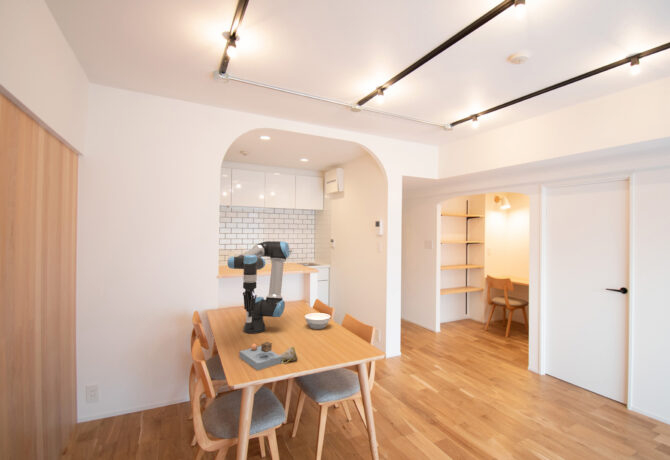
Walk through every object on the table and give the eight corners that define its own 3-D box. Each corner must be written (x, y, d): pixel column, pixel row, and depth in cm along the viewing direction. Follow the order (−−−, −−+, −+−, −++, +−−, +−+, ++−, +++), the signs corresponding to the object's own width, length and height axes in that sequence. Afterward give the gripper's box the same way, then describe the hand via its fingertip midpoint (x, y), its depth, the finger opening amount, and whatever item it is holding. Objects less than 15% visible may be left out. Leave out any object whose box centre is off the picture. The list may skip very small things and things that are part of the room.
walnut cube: (261, 350, 173) (261, 343, 173) (266, 348, 176) (266, 341, 176) (266, 352, 171) (266, 345, 171) (271, 350, 174) (271, 343, 174)
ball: (249, 349, 174) (249, 343, 174) (255, 348, 176) (255, 342, 176) (252, 351, 171) (252, 345, 171) (258, 350, 174) (258, 343, 174)
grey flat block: (239, 357, 172) (239, 351, 172) (262, 351, 181) (262, 345, 181) (257, 370, 156) (257, 363, 156) (281, 363, 165) (281, 356, 166)
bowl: (335, 326, 233) (335, 315, 233) (320, 333, 217) (320, 321, 217) (314, 321, 244) (314, 311, 244) (299, 328, 227) (299, 316, 227)
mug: (276, 359, 171) (285, 342, 174) (292, 367, 171) (300, 349, 174) (276, 361, 164) (285, 343, 167) (293, 369, 164) (301, 351, 167)
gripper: (238, 280, 182) (237, 320, 181) (249, 283, 172) (247, 325, 172) (250, 279, 187) (249, 318, 186) (261, 282, 177) (260, 323, 177)
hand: (248, 322), depth 179 cm, fingers closed
